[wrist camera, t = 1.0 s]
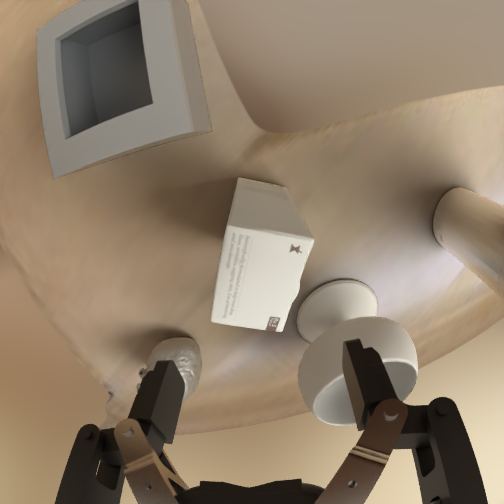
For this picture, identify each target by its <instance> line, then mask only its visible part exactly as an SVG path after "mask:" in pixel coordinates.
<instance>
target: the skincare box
mask: <svg viewBox="0 0 504 504" xmlns="http://www.w3.org/2000/svg"><path fill="white" fill-rule="evenodd" d="M313 244H314V238H313V236H312V234H311V232H310V231H309V228H308V226H307V225H306V223H305V221H304V219H303V217H302V215H301V213H300V211H299V209H298V207H297V205H296V203H295V201H294V199H293V198H292V196H291V194H290V192H289V190H288V188H287V187H283V186H279V185H274V184H270V183H265V182H260V181H255V180H250V179H245V178H240V177H239V178H238V179H237V184H236V189H235V193H234V197H233V202H232V206H231V210H230V214H229V218H228V222H227V226H226V230H225V235H224V239H223V244H222V248H221V253H220V259H219V264H218V270H217V276H216V282H215V289H214V295H213V302H212V309H211V322H215V323H220V324H226V325H232V326H239V327H246V328H253V329H260V330H270V331H277V332H282V331H283V328H284V325H285V322H286V319H287V316H288V313H289V310H290V308H291V305H292V302H293V301H294V299H295V298H296V297H297V295H298V292H299V289H300V279H301V276H302V273H303V270H304V267H305V264H306V261H307V259H308V256H309V254H310V251H311V249H312V247H313Z"/></svg>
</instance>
